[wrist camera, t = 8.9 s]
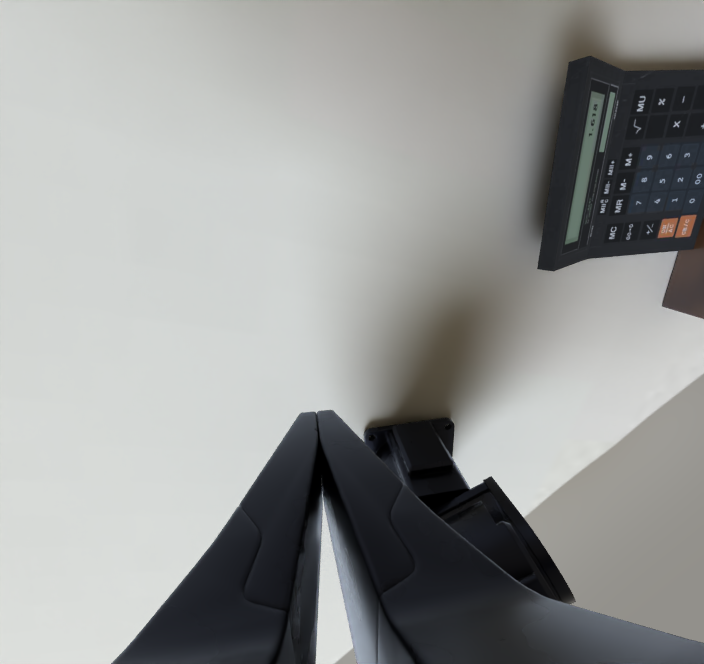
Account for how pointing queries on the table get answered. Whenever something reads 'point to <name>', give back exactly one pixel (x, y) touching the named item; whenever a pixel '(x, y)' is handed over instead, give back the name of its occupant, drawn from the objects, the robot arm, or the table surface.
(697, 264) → the rail
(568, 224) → the calculator
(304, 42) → the table surface
